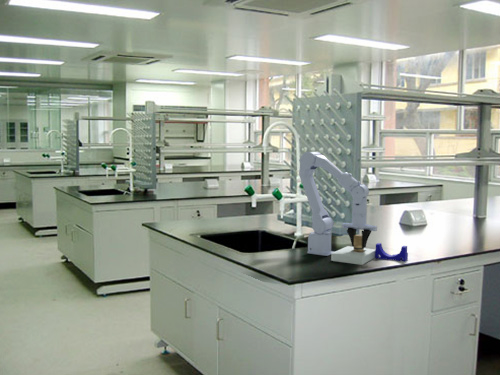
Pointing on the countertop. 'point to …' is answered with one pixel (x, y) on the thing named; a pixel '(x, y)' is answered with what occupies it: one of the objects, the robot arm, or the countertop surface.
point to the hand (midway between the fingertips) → (358, 246)
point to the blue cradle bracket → (398, 257)
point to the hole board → (353, 255)
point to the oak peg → (358, 244)
